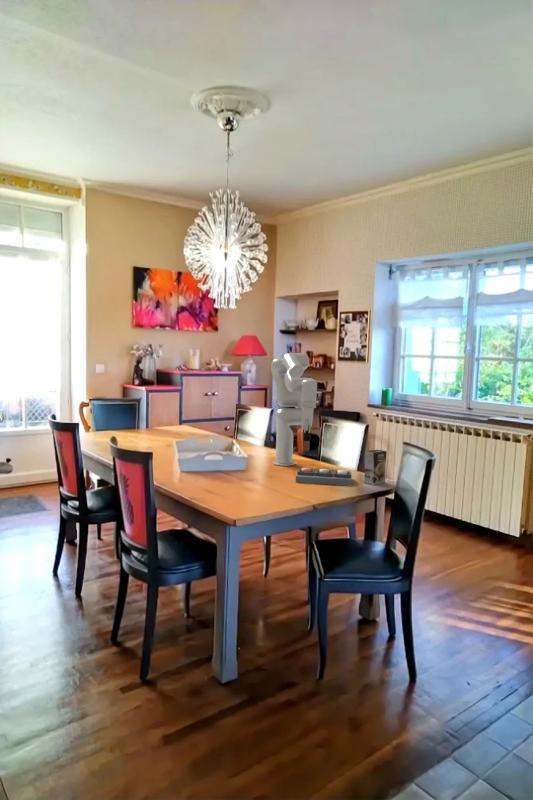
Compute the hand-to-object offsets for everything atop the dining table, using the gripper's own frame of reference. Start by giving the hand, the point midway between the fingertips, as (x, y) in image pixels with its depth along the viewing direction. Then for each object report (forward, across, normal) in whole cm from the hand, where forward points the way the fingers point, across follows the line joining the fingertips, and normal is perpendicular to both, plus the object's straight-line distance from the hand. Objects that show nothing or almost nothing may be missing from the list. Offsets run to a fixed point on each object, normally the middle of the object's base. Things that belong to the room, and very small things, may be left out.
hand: (306, 440), depth 265 cm
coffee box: (+20, -1, +34) cm, 40 cm away
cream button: (+16, +1, +18) cm, 24 cm away
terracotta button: (+16, +1, 0) cm, 16 cm away
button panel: (+20, +1, +10) cm, 22 cm away
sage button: (+16, +1, +9) cm, 19 cm away
